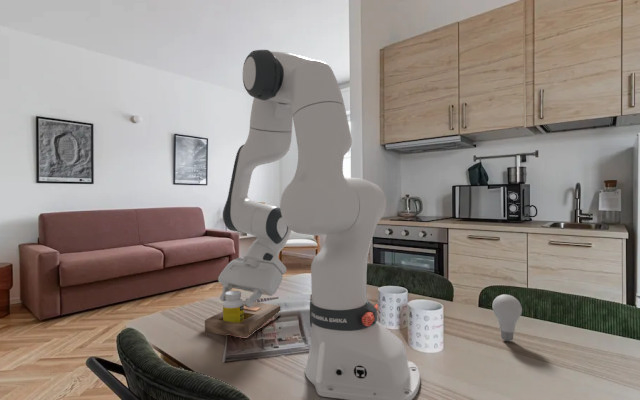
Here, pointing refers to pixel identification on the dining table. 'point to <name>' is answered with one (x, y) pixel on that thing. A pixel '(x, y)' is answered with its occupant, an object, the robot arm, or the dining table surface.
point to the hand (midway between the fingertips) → (234, 303)
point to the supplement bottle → (233, 307)
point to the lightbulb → (507, 314)
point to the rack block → (253, 321)
